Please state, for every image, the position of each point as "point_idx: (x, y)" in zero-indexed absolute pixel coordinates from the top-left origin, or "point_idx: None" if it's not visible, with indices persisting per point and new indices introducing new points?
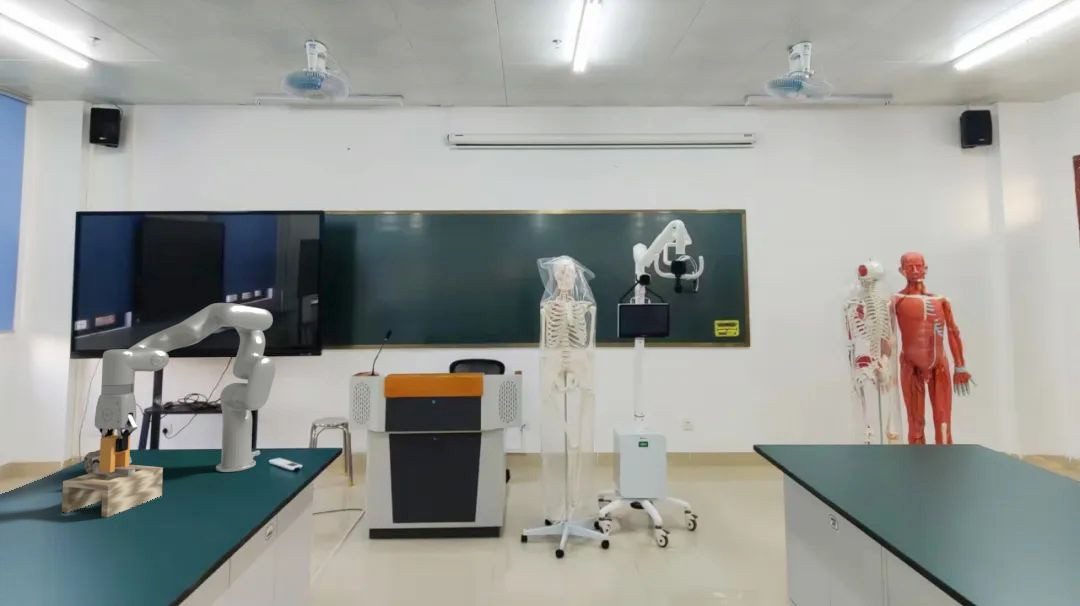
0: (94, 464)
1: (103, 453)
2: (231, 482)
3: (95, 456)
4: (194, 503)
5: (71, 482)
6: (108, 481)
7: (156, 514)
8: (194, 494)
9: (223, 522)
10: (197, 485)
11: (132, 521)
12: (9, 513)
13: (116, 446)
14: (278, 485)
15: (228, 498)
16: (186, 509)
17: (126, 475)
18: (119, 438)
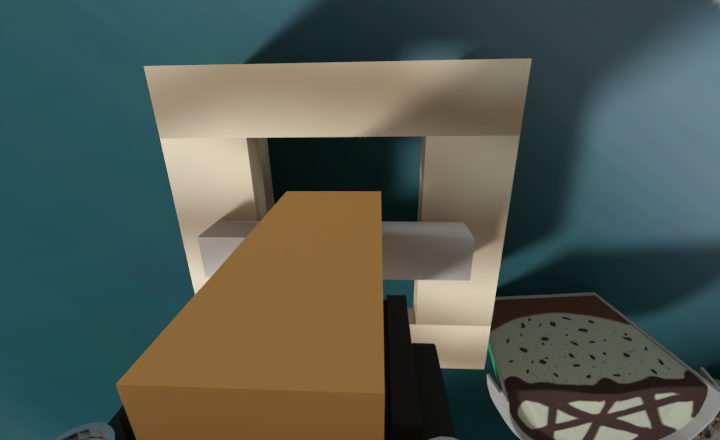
0: (675, 369)
1: (333, 248)
2: None
3: None
4: (80, 249)
5: (454, 60)
6: (227, 125)
7: (88, 143)
8: (169, 311)
9: None
10: None
11: (94, 66)
12: (716, 3)
13: None
14: (9, 405)
15: (27, 302)
16: (44, 202)
17: (228, 223)
18: (101, 434)
